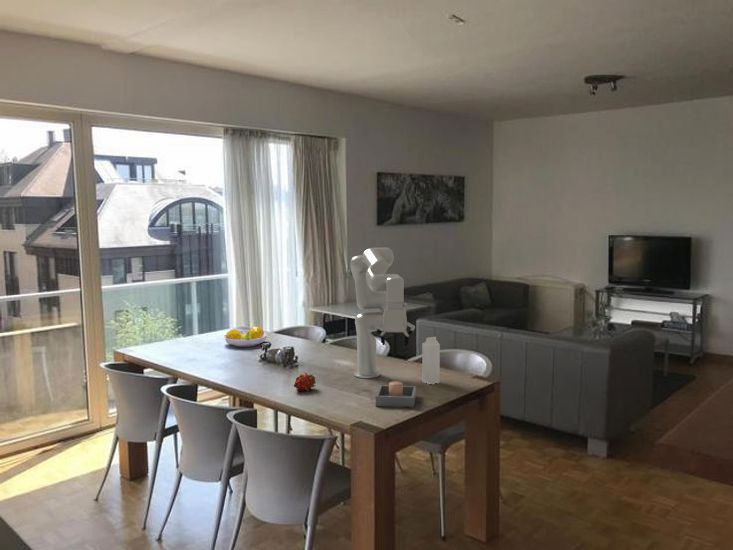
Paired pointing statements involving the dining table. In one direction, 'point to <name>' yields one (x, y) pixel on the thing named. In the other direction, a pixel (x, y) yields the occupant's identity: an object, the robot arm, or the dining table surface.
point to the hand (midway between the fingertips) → (394, 344)
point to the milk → (431, 361)
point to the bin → (396, 397)
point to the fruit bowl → (245, 337)
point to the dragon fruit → (305, 382)
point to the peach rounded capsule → (396, 389)
